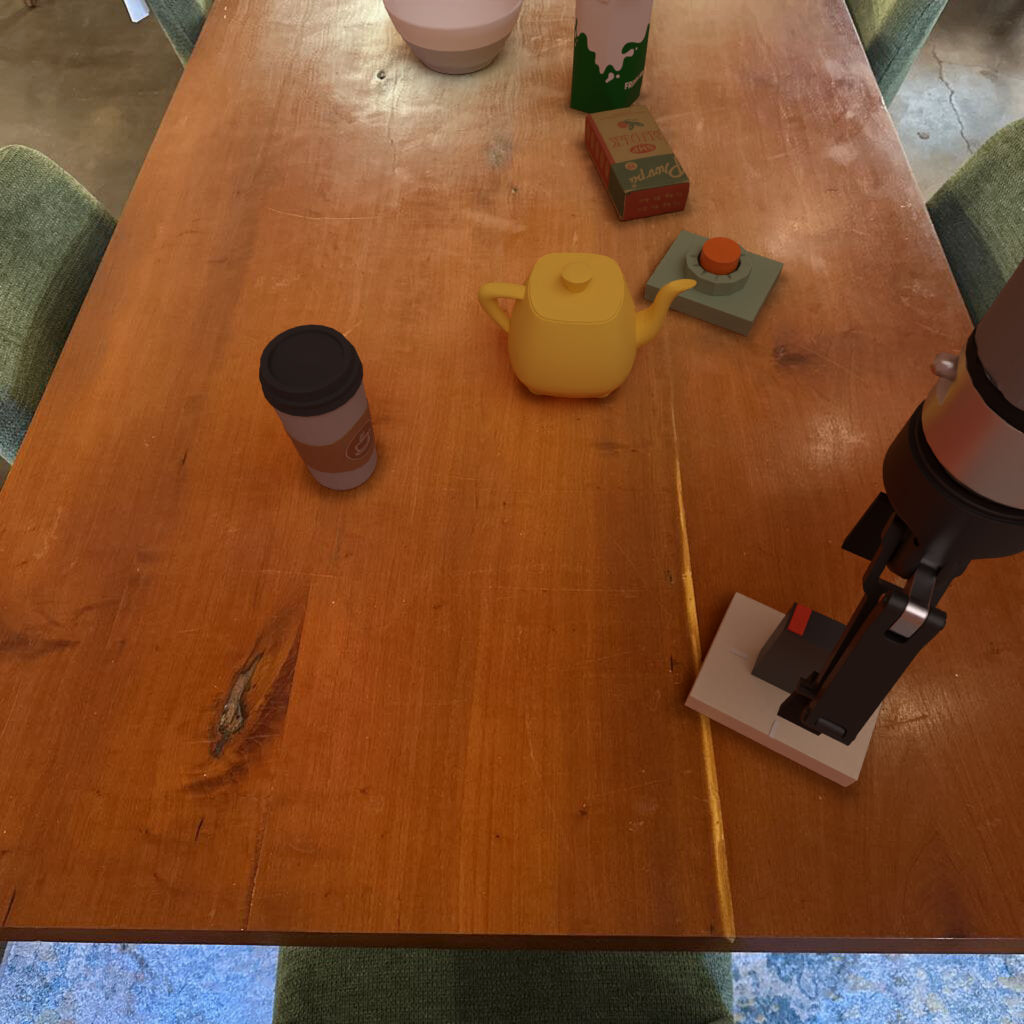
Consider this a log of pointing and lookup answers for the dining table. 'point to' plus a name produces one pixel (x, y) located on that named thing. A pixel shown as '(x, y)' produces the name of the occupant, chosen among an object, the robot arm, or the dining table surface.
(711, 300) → the housing
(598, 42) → the milk carton
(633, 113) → the carton
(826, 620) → the dark grey rectangular block
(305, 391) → the coffee cup
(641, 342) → the teapot
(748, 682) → the panel
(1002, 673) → the dining table surface
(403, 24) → the bowl
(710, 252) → the button
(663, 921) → the dining table surface
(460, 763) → the dining table surface
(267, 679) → the dining table surface
